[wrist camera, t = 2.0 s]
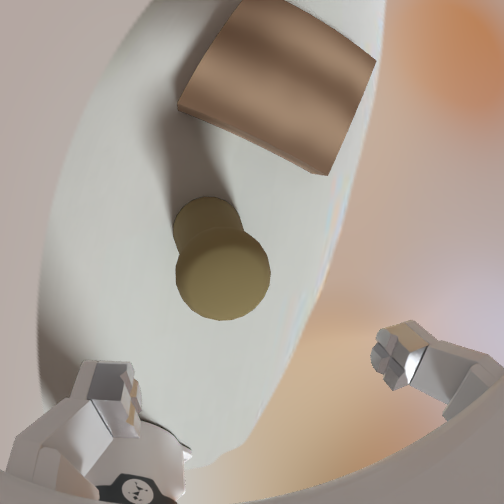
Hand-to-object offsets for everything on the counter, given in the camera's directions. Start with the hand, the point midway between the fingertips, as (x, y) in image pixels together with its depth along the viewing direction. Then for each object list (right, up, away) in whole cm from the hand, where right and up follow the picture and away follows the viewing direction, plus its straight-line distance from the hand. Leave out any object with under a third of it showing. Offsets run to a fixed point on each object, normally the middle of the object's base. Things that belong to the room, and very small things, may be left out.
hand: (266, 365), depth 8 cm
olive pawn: (-4, +5, +16) cm, 17 cm away
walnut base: (+2, +19, +12) cm, 22 cm away
